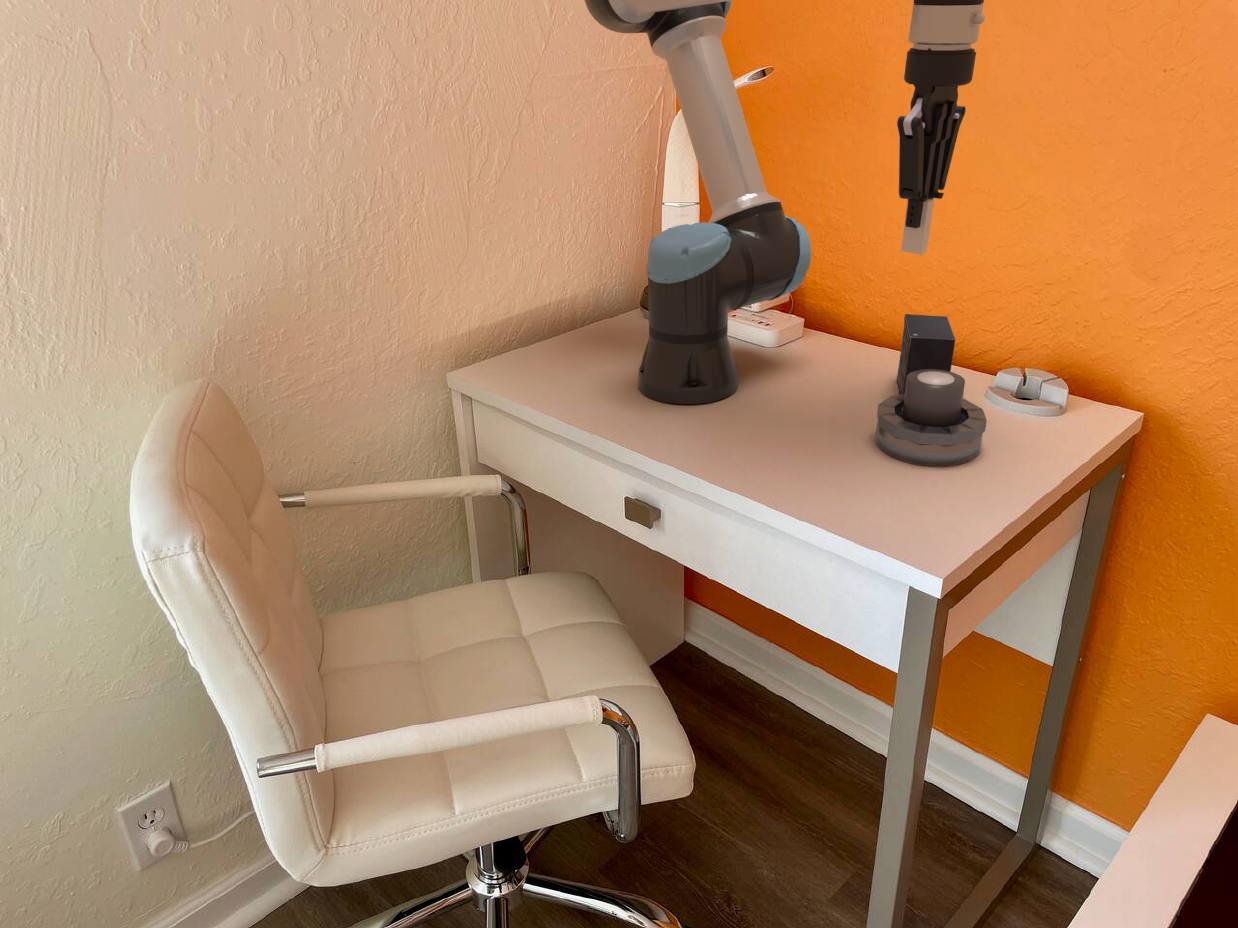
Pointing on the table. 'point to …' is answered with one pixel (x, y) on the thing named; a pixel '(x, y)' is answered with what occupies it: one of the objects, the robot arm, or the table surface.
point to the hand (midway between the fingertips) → (913, 251)
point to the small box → (925, 346)
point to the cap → (933, 398)
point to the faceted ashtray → (929, 436)
